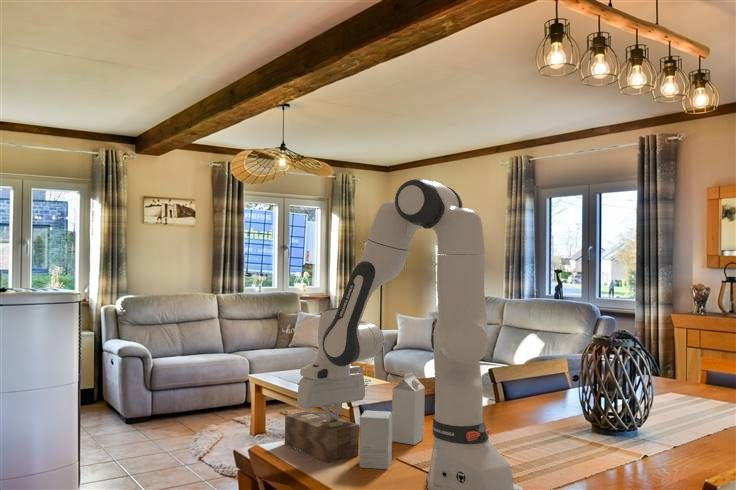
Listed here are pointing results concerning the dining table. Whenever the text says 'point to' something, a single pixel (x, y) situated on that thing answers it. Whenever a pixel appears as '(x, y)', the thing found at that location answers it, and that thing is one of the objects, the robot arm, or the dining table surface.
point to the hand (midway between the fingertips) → (331, 420)
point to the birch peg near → (332, 423)
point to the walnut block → (321, 436)
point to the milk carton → (408, 411)
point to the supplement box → (375, 439)
